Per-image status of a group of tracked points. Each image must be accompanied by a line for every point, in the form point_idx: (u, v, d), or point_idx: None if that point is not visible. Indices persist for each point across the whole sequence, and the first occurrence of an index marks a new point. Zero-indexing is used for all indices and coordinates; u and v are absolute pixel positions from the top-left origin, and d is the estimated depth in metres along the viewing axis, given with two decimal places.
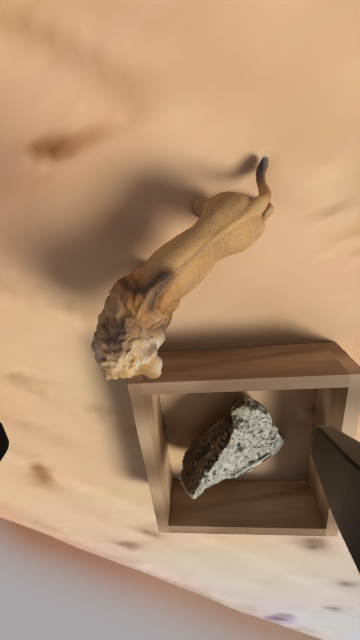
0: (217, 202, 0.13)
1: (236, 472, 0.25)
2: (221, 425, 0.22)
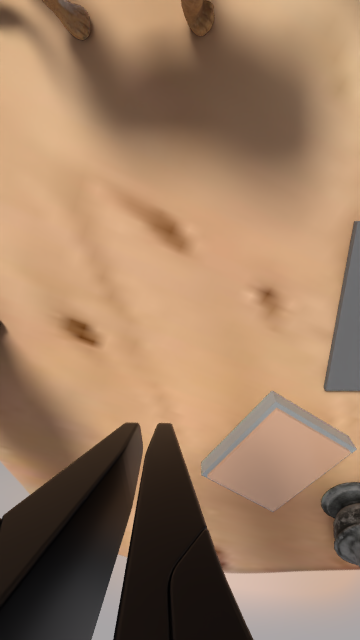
0: None
1: None
2: None
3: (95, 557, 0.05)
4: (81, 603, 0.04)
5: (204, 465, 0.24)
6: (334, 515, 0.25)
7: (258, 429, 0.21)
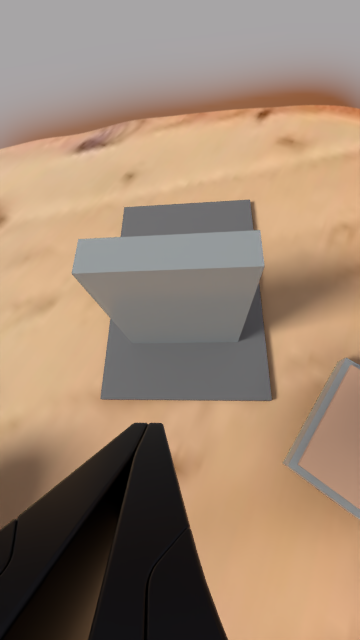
0: None
1: None
2: None
3: None
4: (96, 604, 0.04)
5: None
6: None
7: (338, 492, 0.15)
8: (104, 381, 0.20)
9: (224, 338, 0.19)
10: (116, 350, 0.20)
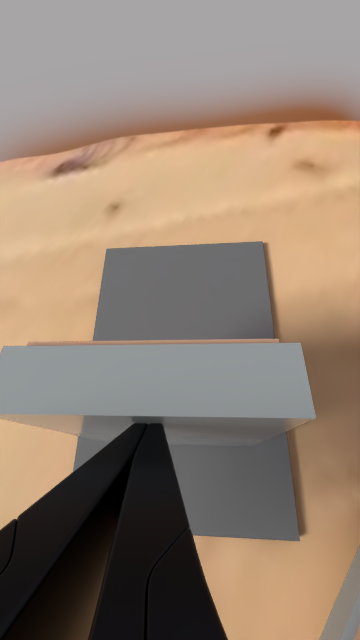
0: None
1: None
2: None
3: None
4: (96, 604, 0.04)
5: None
6: None
7: None
8: None
9: (232, 444, 0.14)
10: (89, 452, 0.15)
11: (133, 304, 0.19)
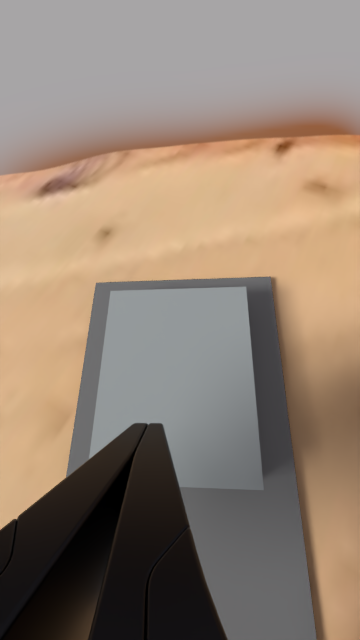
0: None
1: None
2: None
3: None
4: (96, 604, 0.04)
5: None
6: None
7: None
8: None
9: (237, 467, 0.12)
10: None
11: None
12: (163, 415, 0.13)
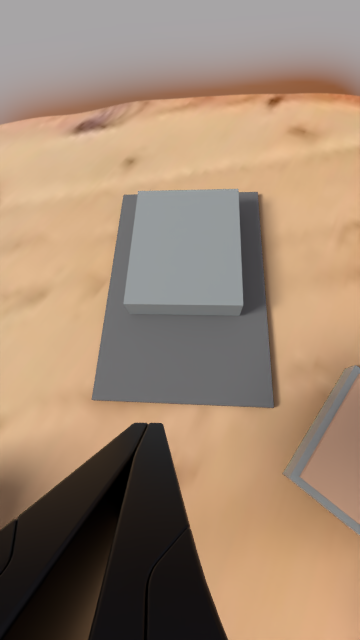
0: None
1: None
2: None
3: None
4: (96, 604, 0.04)
5: None
6: None
7: (341, 508, 0.14)
8: (96, 381, 0.18)
9: (226, 293, 0.18)
10: (110, 348, 0.19)
11: None
12: (176, 265, 0.19)
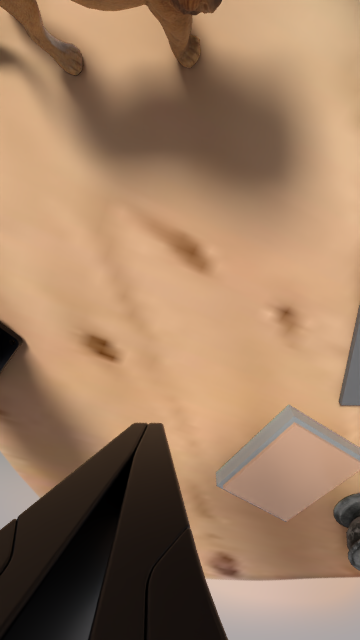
0: None
1: None
2: None
3: None
4: (96, 604, 0.04)
5: (219, 476, 0.24)
6: (346, 524, 0.26)
7: (275, 443, 0.21)
8: None
9: None
10: None
11: None
12: None
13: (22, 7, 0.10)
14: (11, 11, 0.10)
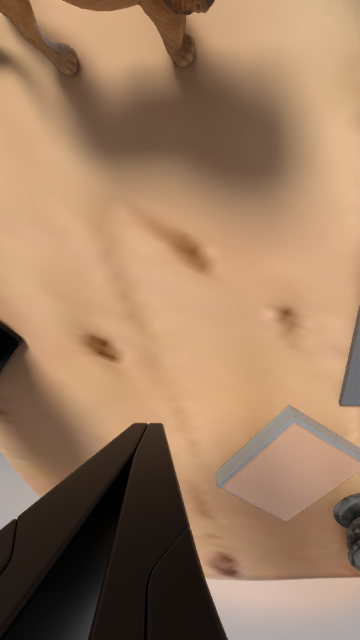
0: None
1: None
2: None
3: None
4: (96, 604, 0.04)
5: (219, 476, 0.24)
6: (346, 525, 0.26)
7: (276, 443, 0.21)
8: None
9: None
10: None
11: None
12: None
13: (15, 8, 0.10)
14: (5, 12, 0.10)
